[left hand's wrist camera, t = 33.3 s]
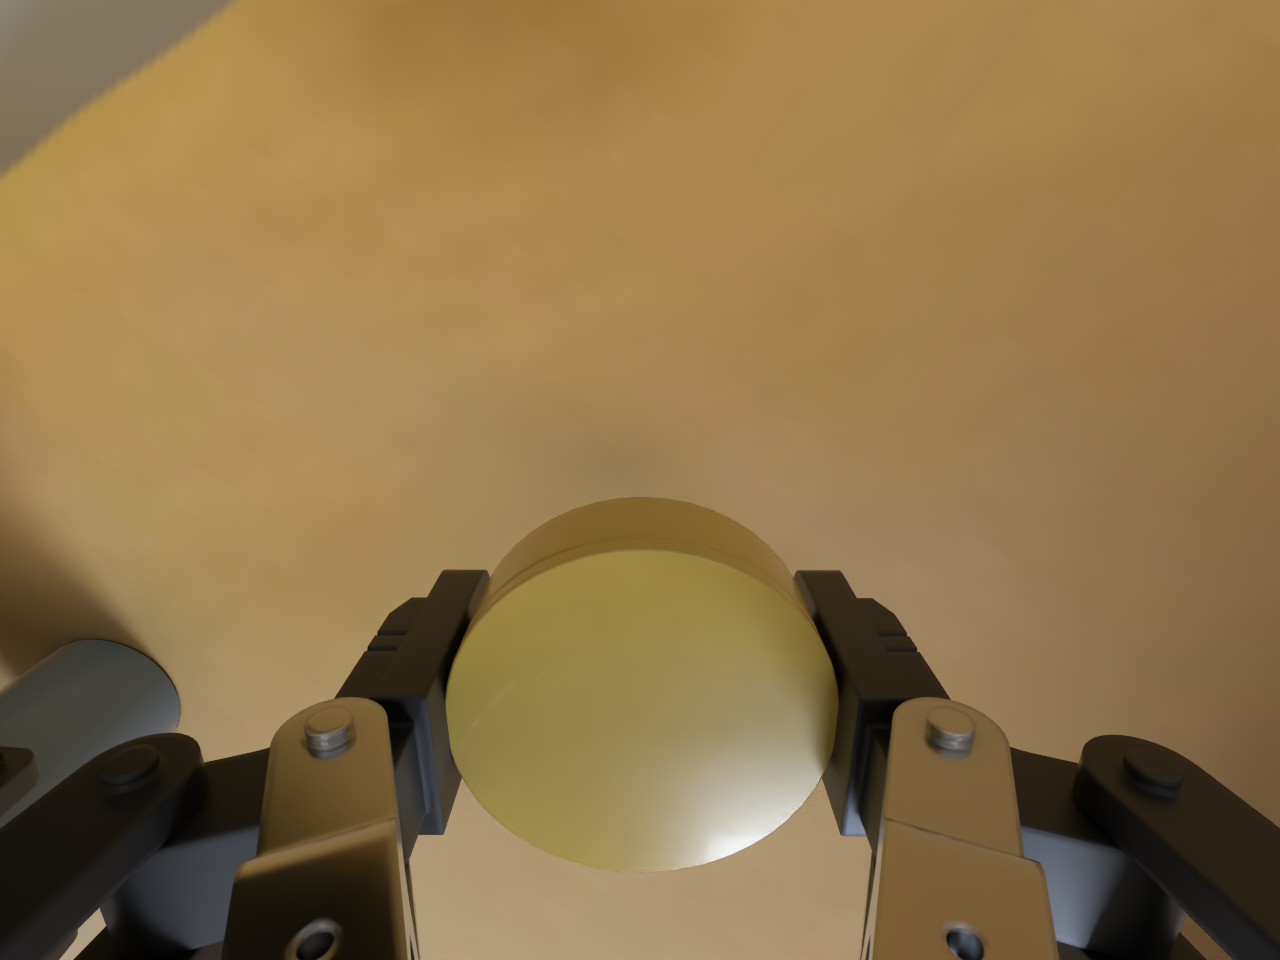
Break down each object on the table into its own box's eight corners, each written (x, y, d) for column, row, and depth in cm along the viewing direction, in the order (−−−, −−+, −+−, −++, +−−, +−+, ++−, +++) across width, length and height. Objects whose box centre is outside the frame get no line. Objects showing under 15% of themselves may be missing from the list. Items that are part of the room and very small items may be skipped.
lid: (431, 723, 12) (395, 808, 10) (542, 440, 10) (520, 485, 8) (721, 819, 12) (735, 913, 11) (871, 571, 11) (915, 637, 9)
